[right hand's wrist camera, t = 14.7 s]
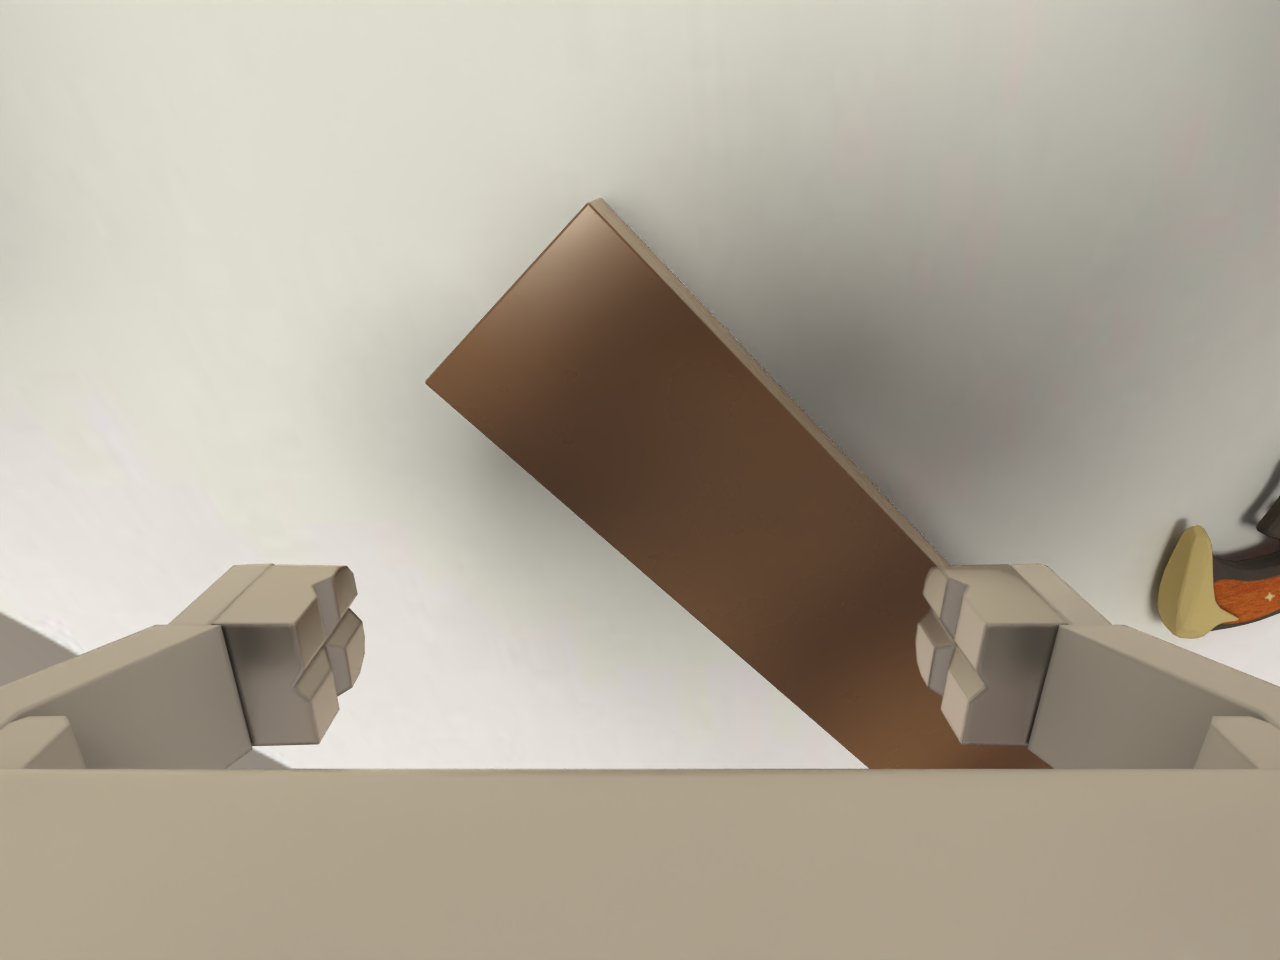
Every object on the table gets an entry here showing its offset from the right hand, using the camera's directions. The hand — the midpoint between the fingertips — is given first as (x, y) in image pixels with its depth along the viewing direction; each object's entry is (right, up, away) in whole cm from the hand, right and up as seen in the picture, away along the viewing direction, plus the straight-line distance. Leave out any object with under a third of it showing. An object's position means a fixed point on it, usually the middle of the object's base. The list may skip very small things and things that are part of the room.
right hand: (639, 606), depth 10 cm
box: (+6, +2, +21) cm, 22 cm away
